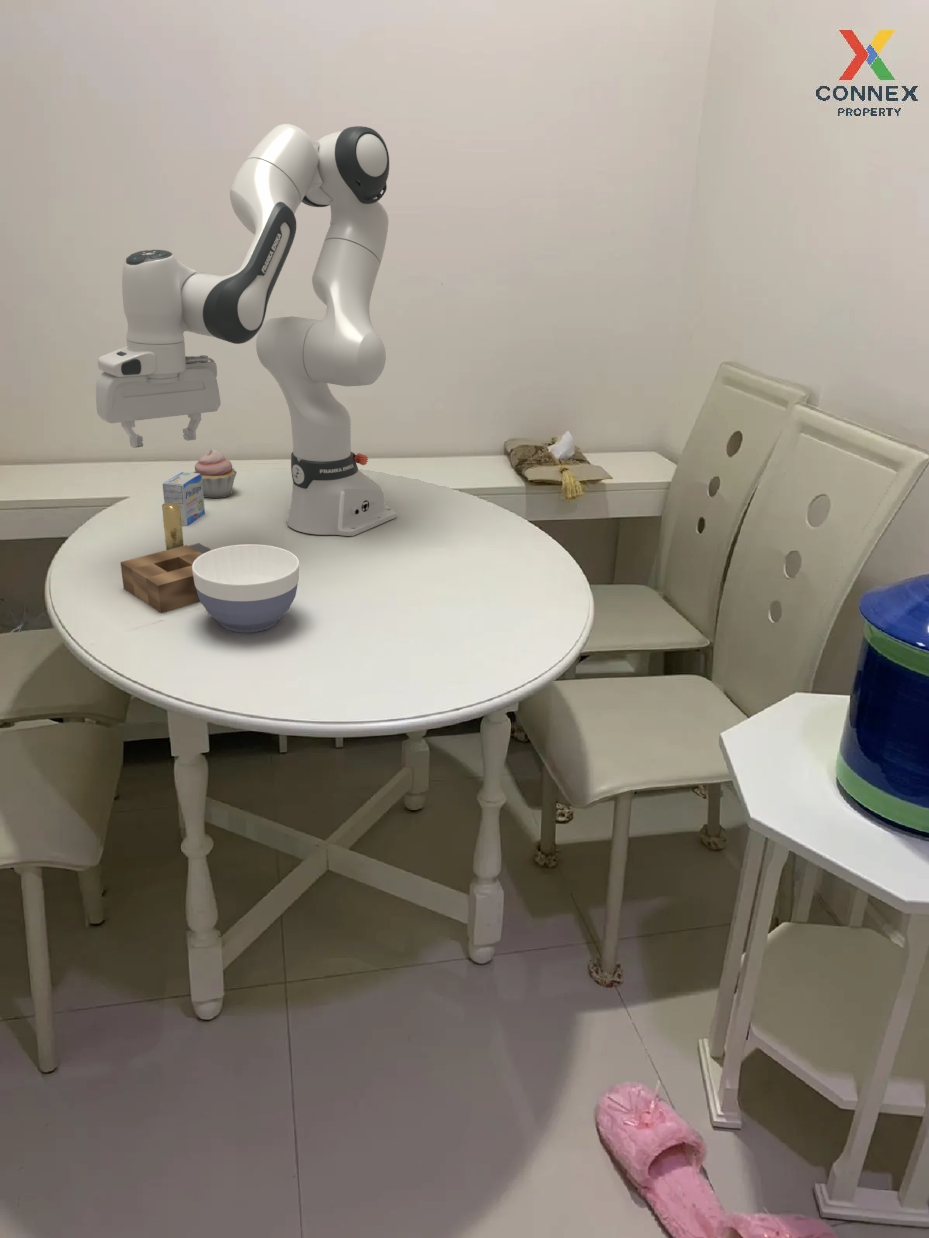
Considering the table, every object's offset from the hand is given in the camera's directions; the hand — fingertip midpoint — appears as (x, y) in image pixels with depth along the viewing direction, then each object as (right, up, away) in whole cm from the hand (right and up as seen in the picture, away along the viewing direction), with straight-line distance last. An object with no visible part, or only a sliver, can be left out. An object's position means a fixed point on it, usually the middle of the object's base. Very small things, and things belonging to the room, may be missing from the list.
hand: (163, 443), depth 155 cm
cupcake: (-3, -3, +43) cm, 43 cm away
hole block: (+3, -25, -2) cm, 25 cm away
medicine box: (-5, -10, +28) cm, 30 cm away
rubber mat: (0, -18, +11) cm, 21 cm away
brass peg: (-1, -19, +9) cm, 21 cm away
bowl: (+17, -30, -10) cm, 36 cm away
